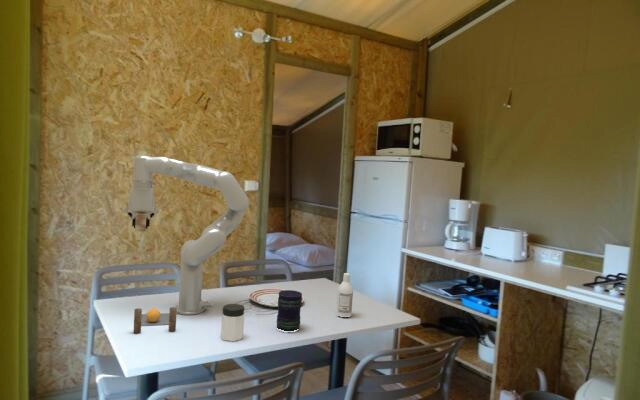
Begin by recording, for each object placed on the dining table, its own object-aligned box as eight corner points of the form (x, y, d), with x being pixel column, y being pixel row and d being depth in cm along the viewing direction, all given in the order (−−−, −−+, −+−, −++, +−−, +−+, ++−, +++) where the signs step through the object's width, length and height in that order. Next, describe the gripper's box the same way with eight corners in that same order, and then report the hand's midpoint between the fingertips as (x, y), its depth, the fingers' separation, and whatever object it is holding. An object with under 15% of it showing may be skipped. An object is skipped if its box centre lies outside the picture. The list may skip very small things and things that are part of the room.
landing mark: (173, 313, 191) (173, 312, 191) (173, 324, 178) (173, 324, 178) (138, 314, 187) (138, 314, 187) (136, 326, 173) (136, 325, 173)
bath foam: (353, 318, 202) (356, 275, 201) (339, 319, 200) (342, 275, 198) (347, 313, 209) (350, 271, 207) (333, 314, 206) (337, 272, 205)
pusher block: (146, 227, 192) (146, 211, 191) (145, 231, 182) (146, 214, 182) (136, 227, 190) (136, 211, 190) (135, 231, 181) (135, 214, 180)
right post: (175, 329, 173) (176, 307, 172) (175, 331, 171) (176, 309, 170) (168, 329, 172) (169, 307, 172) (168, 332, 170) (169, 309, 169)
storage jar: (290, 335, 176) (293, 298, 175) (271, 328, 181) (273, 293, 180) (304, 328, 184) (306, 293, 184) (285, 322, 190) (287, 288, 189)
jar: (234, 331, 175) (236, 302, 175) (247, 337, 170) (249, 307, 169) (215, 337, 168) (217, 306, 168) (229, 343, 163) (231, 311, 162)
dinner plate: (314, 302, 223) (314, 296, 223) (281, 315, 200) (281, 308, 200) (271, 291, 238) (272, 285, 238) (236, 302, 215) (237, 295, 215)
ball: (161, 308, 178) (160, 322, 178) (160, 307, 183) (159, 321, 182) (146, 309, 176) (146, 323, 175) (146, 308, 181) (145, 322, 180)
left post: (140, 331, 169) (142, 308, 168) (140, 333, 166) (141, 310, 166) (133, 331, 168) (134, 308, 167) (133, 334, 165) (134, 310, 165)
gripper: (163, 185, 192) (161, 227, 193) (121, 183, 186) (119, 226, 187) (163, 186, 185) (161, 229, 186) (120, 184, 179) (118, 229, 180)
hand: (140, 227), depth 186 cm, fingers closed on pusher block, 4 cm apart
